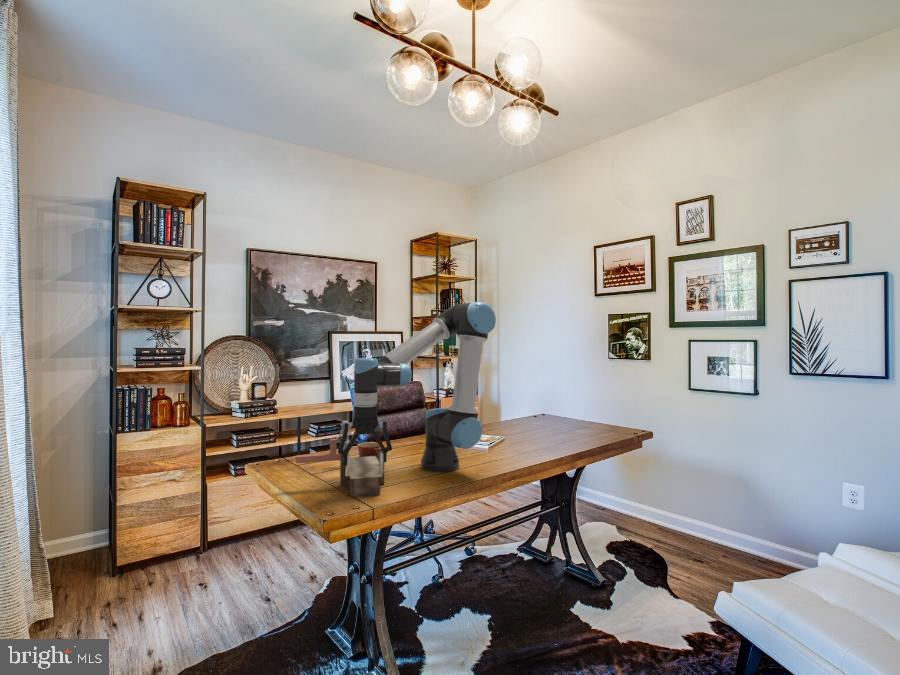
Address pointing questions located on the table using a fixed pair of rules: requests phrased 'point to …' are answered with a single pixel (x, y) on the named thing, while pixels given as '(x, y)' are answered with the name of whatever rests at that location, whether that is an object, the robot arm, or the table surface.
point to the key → (321, 455)
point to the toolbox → (361, 482)
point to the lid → (365, 467)
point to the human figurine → (347, 435)
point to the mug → (368, 449)
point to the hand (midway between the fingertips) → (364, 473)
